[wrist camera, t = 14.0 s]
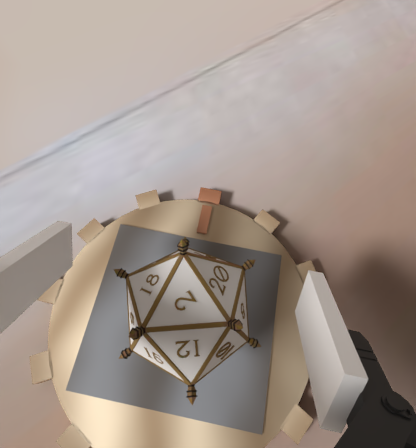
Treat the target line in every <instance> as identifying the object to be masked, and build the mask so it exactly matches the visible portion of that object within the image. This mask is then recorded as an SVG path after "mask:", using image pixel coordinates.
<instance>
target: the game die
mask: <svg viewBox="0 0 416 448" xmlns="http://www.w3.org/2000/svg"><path fill="white" fill-rule="evenodd" d="M188 246H189V240H188V239H187V238H186V237H184V239H181V241H180V242H179V243H178V245H177V247H178V250H177V251H175V252H173V253H171V254H169V255H167V256H165V257H163V258H161V259H159V260H157V261H155V262H152V263H150V264H148V265H146V266H144V267H142V268H140V269H138V270H136V271H134V272H132V273H130V274H128V273H127V272H126V270H123V269H122V268H121V269H114V271H115V273H116V275H117V277H118V276H119V277H120V278H125V279H126V291H127V308H128V325H129V336H128V337H129V343H130V348H125V350H122V352H121V355H120V357H119V359H123V358H125V359H128V358H127V357H129V356H131V353H132V352H134V353H135V354H137V355H139V356H140V357H142V358H144V359H145V360H147V361H149V362H150V363H152V364H154V365H155V366H157V367H159V368H160V369H162V370H163V371H165V372H167V373H168V374H170V375H172V376H173V377H175V378H177V379H178V380H180V381H182V382H183V383H185V384H187V385H188V391H186V392H187V396H186V398H188V399H189V401H190V403H191V404H192V405H193V403H194V401H195V399H196V397H197V395H196V392H197V390H196V389H195V384H196V383H197V382H199V381H200V380H201V379H202V378H204V377H205V376H206V375H207V374H209V373H210V372H211V371H212V370H214V369H215V368H216V367H217V366H219V365H220V364H221V363H222V362H224V361H225V360H226V359H227V358H228V357H230V356H231V355H232V354H233V353H235V352H236V351H237V350H238V349H240V348H241V347H242V346H243V345H245V344H246V343H248V344H249V345H250V346H252V347H253V348H256V347H261V345H260V344H259V342H258V340H257V339H254V338H250V337H249V324H248V309H247V293H246V278H245V271H246V270H247V269H250V268H251V267H253V265H254V263H255V260H248V259H247V261H246V262H244V264H243V266H240V265H237V264H234V263H231V262H228V261H225V260H223V259H220V258H217V257H214V256H211V255H208V254H205V253H202V252H199V251H197V250H194V249H191V248H188Z"/></svg>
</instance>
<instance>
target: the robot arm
mask: <svg viewBox="0 0 416 448" xmlns="http://www.w3.org/2000/svg"><path fill="white" fill-rule="evenodd" d="M72 266H73V264H72V224H71V223H67V222H62V221H57V222H56V223H54V224H52V225H51V226H49V227H48V228H46V229H45V230H43V231H41V232H40V233H38V234H37V235H35V236H33V237H32V238H30V239H29V240H27V241H26V242H24V243H22V244H21V245H19V246H18V247H16V248H14V249H13V250H11V251H10V252H8V253H7V254H5V255H3V256H2V257H0V334H1V333H2V332H3V331H4V330H5V329H6V328H7V327H8V326H9V325H10V324H11V323H12V322H13V321H15V320H16V319H17V318H18V317H19V316H20V315H21V314H22V313H23V312H24V311H25V310H26V309H27V308H28V307H29V306H30V305H32V304H33V303H34V302H35V301H36V300H37V299H38V298H39V297H40V296H41V295H42V294H43V293H44V292H45V291H46V290H48V289H49V288H50V287H51V286H52V285H53V284H54V283H55V282H56V281H57V280H58V279H59V278H60V277H61V276H62V275H63V274H65V273H66V272H67V271H68V270H69V269H70V268H71V267H72ZM295 315H296V320H297V324H298V329H299V333H300V338H301V343H302V347H303V352H304V356H305V361H306V366H307V370H308V375H309V379H310V384H311V389H312V393H313V398H314V403H315V407H316V412H317V416H318V421H319V426H320V428H321V429H325V430H330V431H334V432H339V433H342V431H343V429H344V427H345V425H346V423H347V424H348V428H347V430H346V431H345V433H344V434H343V435H342V437H341V438H340V440H339V441H338V443H337V444H336V446H335V447H334V448H416V414H415V412H414V409H413V408H412V406H411V405H410V404H409V403H408V401H407V400H405V399H404V398H403V397H402V396H401V395H399V394H398V393H396V392H394V391H392V389H391V386H390V384H389V382H388V380H387V378H386V376H385V374H384V372H383V370H382V368H381V366H380V364H379V362H377V358H376V356H375V354H373V350H372V348H371V346H370V344H369V342H368V341H367V340H366V339H365V338H364V337H363V335H362V334H361V333H360V332H357V331H352V330H347V328H346V325H345V323H344V321H343V318H342V316H341V314H340V311H339V309H338V307H337V304H336V302H335V300H334V297H333V295H332V293H331V290H330V288H329V286H328V283H327V281H326V279H325V276H324V274H323V273H320V272H315V271H310V270H308V273H307V276H306V279H305V282H304V285H303V288H302V291H301V294H300V297H299V300H298V303H297V306H296V310H295Z"/></svg>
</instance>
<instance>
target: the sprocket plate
mask: <svg viewBox="0 0 416 448" xmlns="http://www.w3.org/2000/svg"><path fill="white" fill-rule="evenodd" d="M220 198H221V191H218V190H212V189H207V188H202V187H201V189H200V193H199V197H198V200H171V201H163V202H160V200H159V197H158V194H157V190H153V191H149V192H146V193H142V194H139V195H136V199H137V203H138V206H139V209H136V210H134V211H132V212H129V213H127V214H125V215H123V216H121V217H120V218H118V219H117V220H115V221H114V222H112V223H110V224H109V225H107V226H106V227H105V228H104V227H103V226H102V225H101V224H100V223H99V222H98V221H97V220H96V219H95V218H94V219H93V220H92V221H91V222H89V223H88V224H87V225H86V226H85V227H84V228H83V229H82V230H80V231H79V232H78V233H77V234H78V235H79V236H80V237H81V238H82V239H83V240H84V241H85V242H86V243H87V244H86V246H85V247H84V248H83V249H82V250H81V252H80V253H79V254H78V256H77V257H76V258H75V259H74V261H73V262H72V264H73V266H72V267H71V268H70V269H69V270H68V271H67V272H66V274H65V276H64V278H63V279H58V280H57V281H56V282H55V283H54V284H53V285H52V286H51V287H50V288H49V289H48V290H46V291H45V292H44V293H43V294H42V295H41V296H40V297H39V298H38V300H39V301H42V302H46V303H51V304H53V308H52V313H51V318H50V323H49V334H48V350H47V351H44V352H41V353H38V354H36V355H33V356H30V366H31V375H32V384H38V383H42V382H45V381H48V380H50V379H52V381H53V384H54V387H55V390H56V393H57V396H58V399H59V402H60V403H61V405H62V407H63V409H64V411H65V413H66V415H67V417H68V419H69V420H70V422H71V423H72V424H71V425H70V426H69V427H68V428H67V429H66V431H65V432H64V433H63V434H62V435H61V436H60V437H59V438H58V439H57V441H56V442H57V443H58V445H59V446H60V447H61V448H90V447H92V448H264V447H265V446H266V445H267V444H268V443H269V442H270V441H271V440H272V439H273V438H274V437H275V436H276V435H277V434H278V433H279V432H280V431H281V429H282V430H283V431H284V432H285V433H286V434H287V435H288V436H289V437H290V438H291V439H292V440H293V441H294V442H295V443H296V444H297V445H298V443H299V442H300V440H301V439H302V437H303V435H304V434H305V432H306V431H307V429H308V427H309V426H310V424H311V423H312V421H313V419H312V418H311V417H310V416H309V415H308V414H307V413H306V412H305V411H304V410H303V409H301V408H300V407H299V406H298V403H299V401H300V399H301V397H302V394H303V392H304V389H305V387H306V384H307V382H308V378H309V375H308V370H307V366H306V361H305V356H304V352H303V347H302V343H301V338H300V333H299V329H298V324H297V320H296V315H295V310H296V306H297V303H298V300H299V297H300V294H301V291H302V288H303V285H304V282H305V279H306V276H307V273H308V270H310V271H315V272H316V270H315V268H314V266H313V264H312V262H311V260H309V261H307V262H304V263H301V264H298V265H296V264H295V262H294V260H293V259H292V258H291V256H290V255H289V253H288V252H287V250H286V249H285V248H284V247H283V245H282V244H281V243H280V242H279V241H278V240H277V239H276V238H275V237H274V236H273V235H272V233H273V232H274V231H275V229H276V228H277V227H278V225H279V224H280V222H279V221H277V220H276V219H275V218H273V217H272V216H271V215H269V214H268V213H267V212H265V211H264V210H262V211H261V212H260V213H259V214H258V215H257V216H256V217H255V219H254V220H253V219H252V218H250V217H248V216H246V215H244V214H243V213H241V212H239V211H237V210H234V209H232V208H229V207H226V206H224V205H220V204H219V203H220ZM184 237H186V238H187V239H188V240H189V246H188V248H191V249H194V250H197V251H199V252H202V253H205V254H208V255H211V256H214V257H217V258H220V259H223V260H225V261H228V262H231V263H234V264H237V265H240V266H243V264H244V262H246V261H247V259H248V260H255V263H254V265H253V267H251V268H250V269H247V270H246V271H245V278H246V293H247V309H248V324H249V337H250V338H254V339H257V340H258V342H259V344H260V345H261V347H256V348H253V347H252V346H250V345H249V344H248V343H246V344H245V345H243V346H242V347H241V348H240V349H238V350H237V351H236V352H235V353H233V354H232V355H231V356H230V357H228V358H227V359H226V360H225V361H224V362H222V363H221V364H220V365H219V366H217V367H216V368H215V369H214V370H212V371H211V372H210V373H209V374H207V375H206V376H205V377H204V378H202V379H201V380H200V381H199V382H197V383H196V384H195V389H196V390H197V392H196V395H197V397H196V399H195V401H194V403H193V405H192V404H191V403H190V401H189V399H188V398H186V396H187V392H186V391H188V385H187V384H185V383H183V382H182V381H180V380H178V379H177V378H175V377H173V376H172V375H170V374H168V373H167V372H165V371H163V370H162V369H160V368H159V367H157V366H155V365H154V364H152V363H150V362H149V361H147V360H145V359H144V358H142V357H140V356H139V355H137V354H135V353H134V352H132V353H131V356H129V357H127V358H128V359H125V358H123V359H119V357H120V355H121V352H122V350H125V348H130V343H129V337H128V336H129V325H128V308H127V291H126V279H125V278H120V277H119V276H118V277H117V275H116V273H115V271H114V269H121V268H122V269H123V270H126V272H127V273H128V274H130V273H132V272H134V271H136V270H138V269H140V268H142V267H144V266H146V265H148V264H150V263H152V262H155V261H157V260H159V259H161V258H163V257H165V256H167V255H169V254H171V253H173V252H175V251H177V250H178V247H177V245H178V243H179V242H180V241H181V239H184Z"/></svg>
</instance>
